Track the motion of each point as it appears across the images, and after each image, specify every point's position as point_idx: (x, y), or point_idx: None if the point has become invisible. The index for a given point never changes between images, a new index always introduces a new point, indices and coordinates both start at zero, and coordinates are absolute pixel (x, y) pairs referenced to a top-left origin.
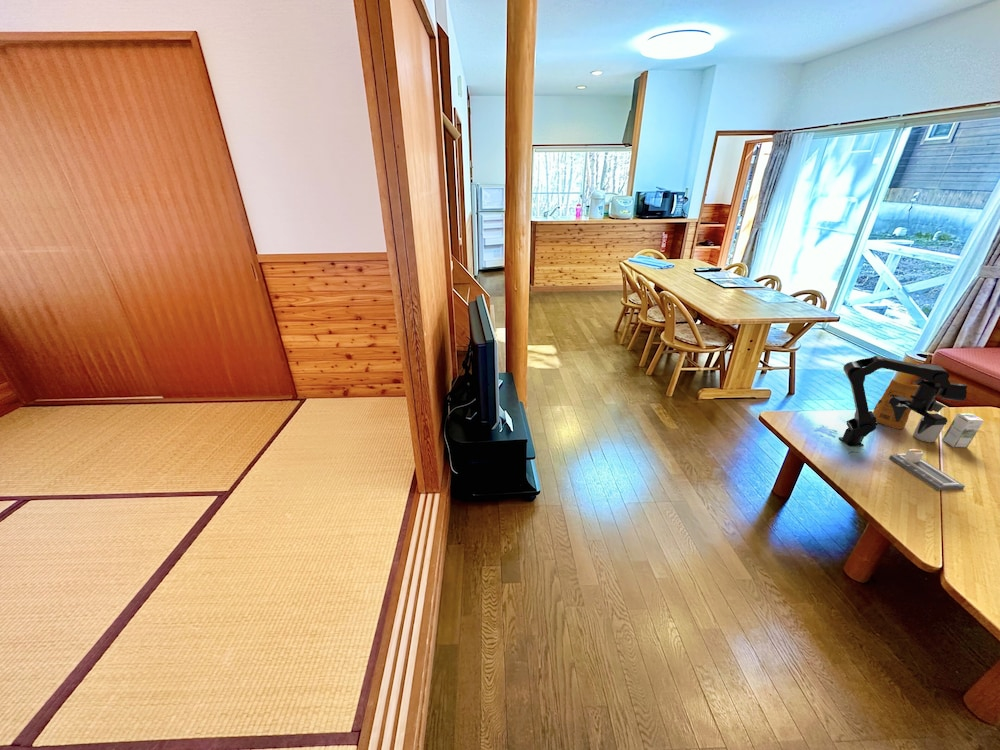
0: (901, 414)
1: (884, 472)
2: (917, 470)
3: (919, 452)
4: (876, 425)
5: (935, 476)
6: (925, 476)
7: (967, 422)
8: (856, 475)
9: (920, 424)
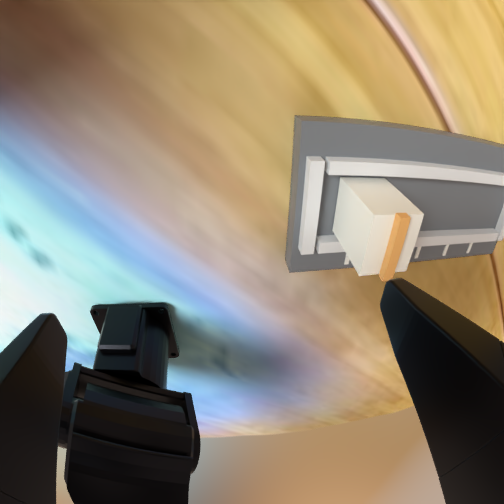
0: (6, 423)
1: (362, 336)
2: (421, 247)
3: (407, 232)
4: (190, 458)
5: (468, 207)
6: (451, 248)
7: None
8: (342, 395)
9: (444, 472)
